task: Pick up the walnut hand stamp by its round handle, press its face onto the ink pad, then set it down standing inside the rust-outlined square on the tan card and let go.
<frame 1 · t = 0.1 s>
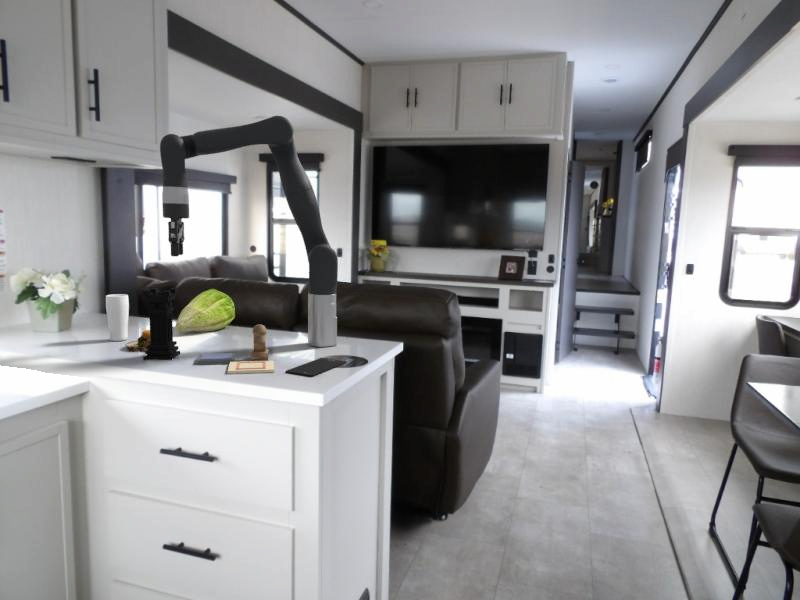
hand: (177, 255, 172), 29 cm above the countertop, fingers open, 8 cm apart
burger: (146, 349, 174), on the countertop
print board: (251, 368, 153), on the countertop
stamp: (259, 358, 164), on the countertop
ink pad: (216, 360, 160), on the countertop
chess piece: (162, 357, 164), on the countertop
drinking glass: (118, 340, 184), on the countertop
lettuce: (203, 331, 205), on the countertop
cell phone: (317, 369, 156), on the countertop
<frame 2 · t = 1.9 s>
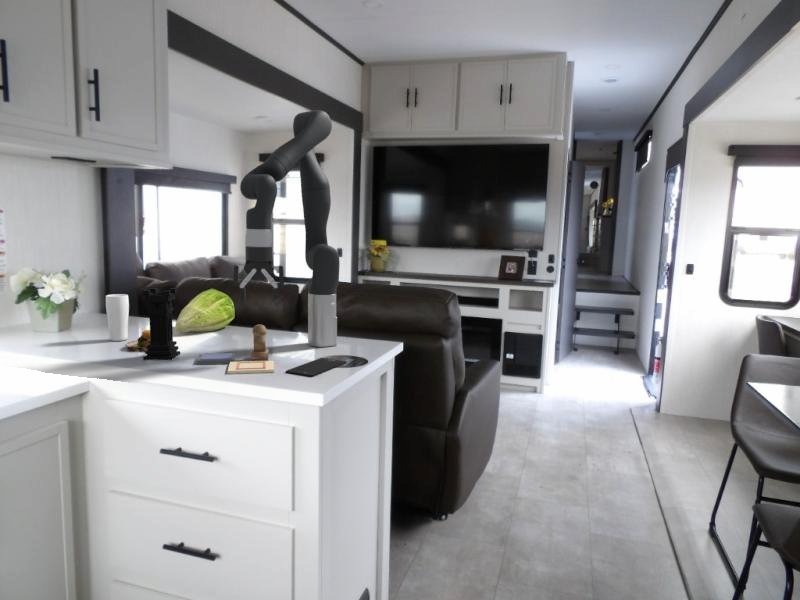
hand: (259, 300, 162), 17 cm above the countertop, fingers open, 8 cm apart
nothing on the countertop moved.
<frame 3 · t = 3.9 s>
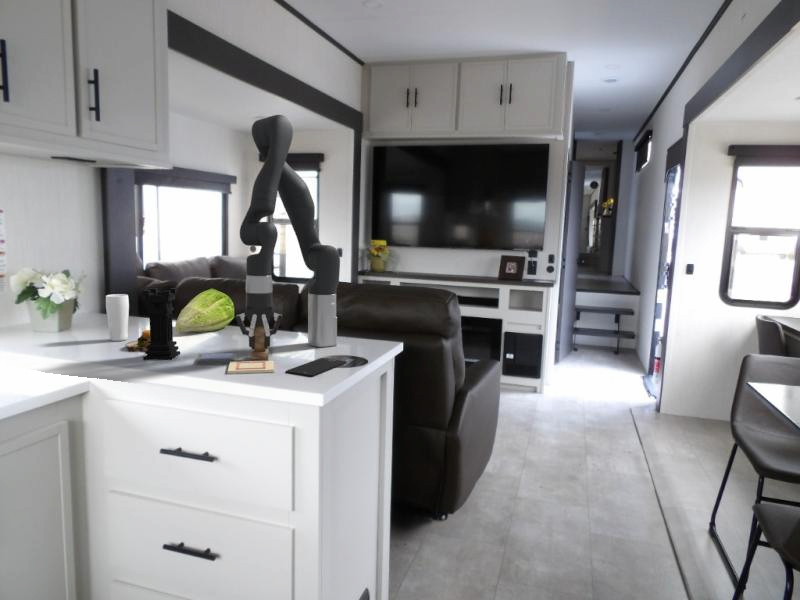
hand: (259, 348, 164), 3 cm above the countertop, fingers closed on stamp, 3 cm apart
stamp: (259, 358, 164), on the countertop, touching gripper
everything else where it was.
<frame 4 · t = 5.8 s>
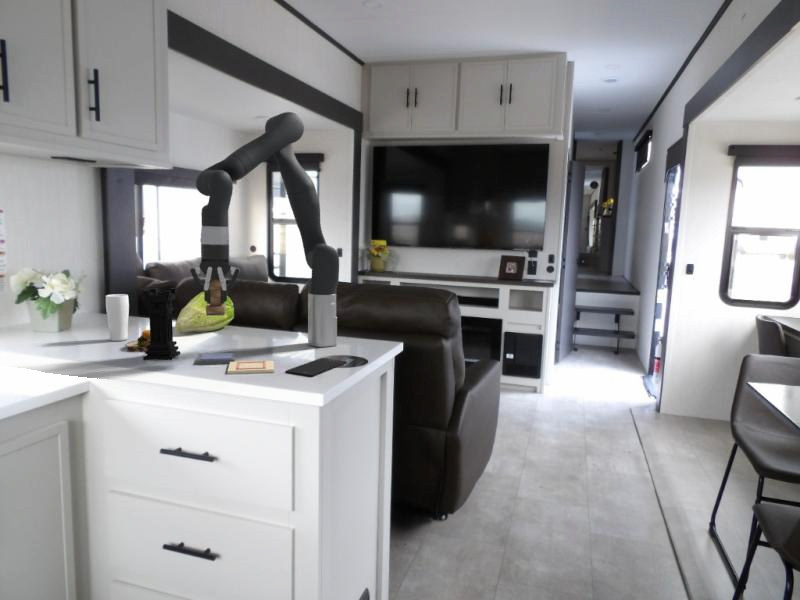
hand: (215, 303, 158), 17 cm above the countertop, fingers closed on stamp, 3 cm apart
stamp: (216, 314, 159), point 14 cm above the countertop, touching gripper
everything else where it was.
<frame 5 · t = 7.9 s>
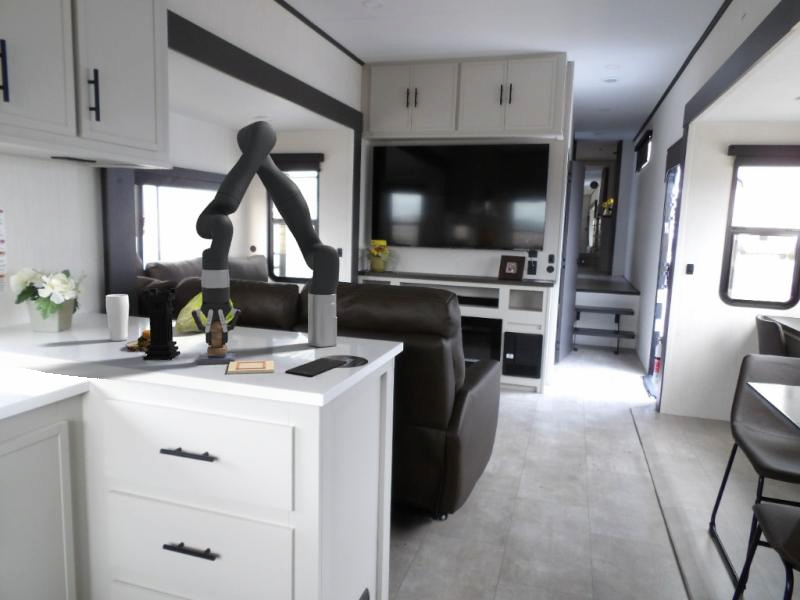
hand: (216, 344, 160), 5 cm above the countertop, fingers closed on stamp, 3 cm apart
stamp: (217, 355, 160), point 2 cm above the countertop, touching gripper
everything else where it was.
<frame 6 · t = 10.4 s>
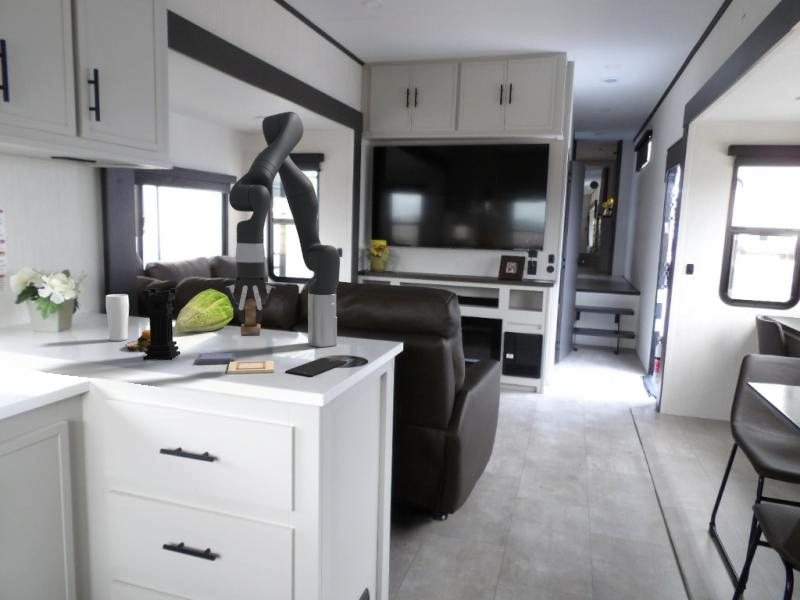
hand: (250, 322, 151), 13 cm above the countertop, fingers closed on stamp, 3 cm apart
stamp: (250, 334, 152), point 10 cm above the countertop, touching gripper
everything else where it was.
when the fingers open (4 cm above the countertop, at t = 12.2 s): stamp stays where it is, resting on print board.
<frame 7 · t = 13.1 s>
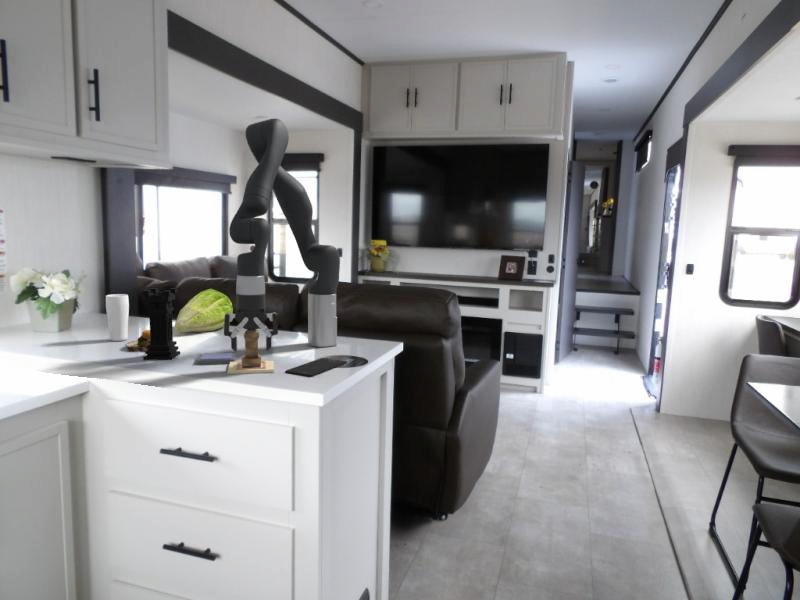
hand: (251, 350, 152), 5 cm above the countertop, fingers open, 8 cm apart
stamp: (251, 365, 153), point 1 cm above the countertop, touching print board
everything else where it was.
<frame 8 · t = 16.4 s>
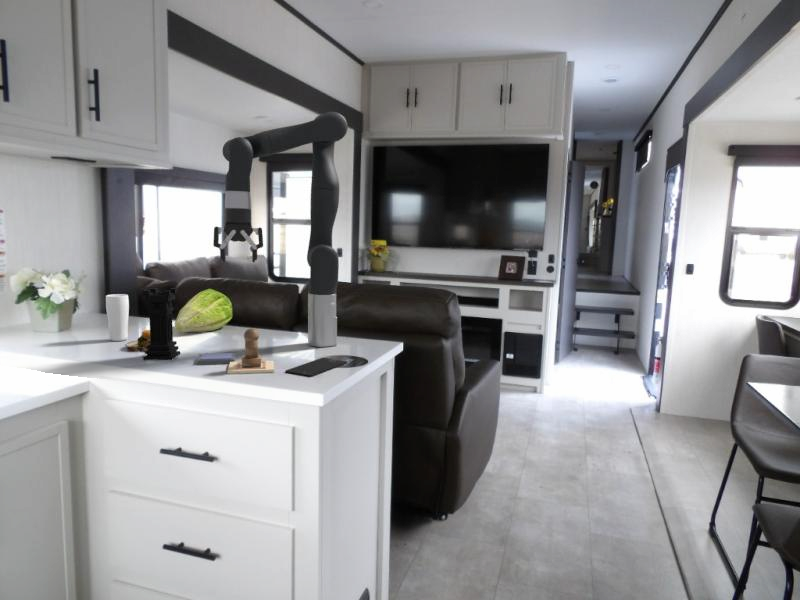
hand: (238, 261, 167), 28 cm above the countertop, fingers open, 8 cm apart
nothing on the countertop moved.
at the end: stamp 0.1 cm off-centre on the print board, point 0.8 cm above the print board's base; stamp tilted 0°; the gripper is holding nothing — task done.
